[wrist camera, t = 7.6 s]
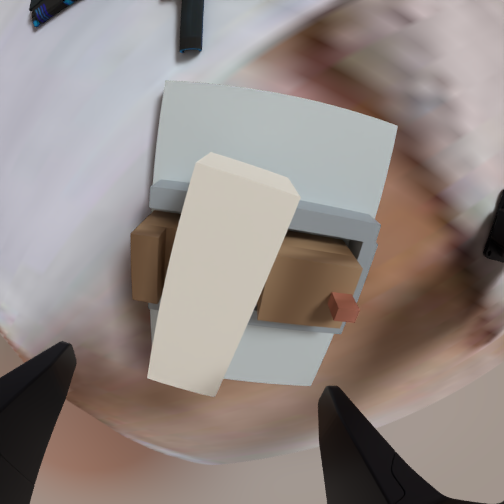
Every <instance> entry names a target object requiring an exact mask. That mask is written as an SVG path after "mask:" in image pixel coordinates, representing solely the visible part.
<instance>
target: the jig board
mask: <svg viewBox="0 0 504 504" xmlns="http://www.w3.org/2000/svg"><path fill="white" fill-rule="evenodd" d="M397 127H398V126H396V125H394V124H391V123H388V122H385V121H382V120H379V119H376V118H373V117H370V116H367V115H364V114H361V113H357V112H354V111H351V110H347V109H344V108H340V107H336V106H333V105H329V104H325V103H321V102H317V101H313V100H309V99H304V98H300V97H295V96H290V95H285V94H280V93H275V92H269V91H263V90H257V89H251V88H244V87H237V86H229V85H220V84H211V83H200V82H186V81H165V87H164V93H163V99H162V106H161V113H160V120H159V128H158V136H157V144H156V154H155V164H154V176H153V185H152V186H150V200H149V208H151V213H152V212H153V211H154V210H157V211H164V212H171V213H179V214H181V213H182V209H183V205H184V202H185V198H186V194H187V191H188V187H189V184H190V180H191V177H192V174H193V170H194V167H195V164H196V162H197V161H199V160H200V159H202V158H203V157H204V156H206V155H207V154H209V153H210V152H213V153H216V154H219V155H222V156H226V157H229V158H232V159H235V160H238V161H241V162H244V163H247V164H250V165H253V166H256V167H259V168H262V169H265V170H268V171H271V172H274V173H276V174H279V175H282V176H285V177H288V178H289V180H290V181H291V183H292V184H293V186H294V187H295V189H296V191H297V192H298V194H299V195H300V197H301V198H300V201H299V203H298V206H297V208H296V211H295V213H294V216H293V218H292V220H291V223H290V225H289V228H288V230H290V231H296V232H302V233H308V234H313V235H319V236H325V237H331V238H336V239H342V240H343V241H344V242H345V244H346V245H347V246H348V248H349V249H350V251H351V252H352V254H353V255H354V257H355V258H356V259H357V261H358V262H359V264H360V265H361V267H362V268H363V270H362V273H361V276H360V279H359V281H358V284H357V287H356V289H355V292H354V295H353V297H354V299H355V301H356V303H357V301H358V298H359V296H360V293H361V290H362V288H363V285H364V282H365V280H366V277H367V274H368V272H369V269H370V266H371V263H372V260H373V258H374V255H375V252H376V249H377V246H378V244H377V243H376V240H377V236H378V233H379V230H380V227H381V225H380V224H379V223H378V222H377V221H376V220H375V216H376V213H377V210H378V206H379V202H380V199H381V195H382V191H383V188H384V184H385V180H386V176H387V172H388V168H389V164H390V159H391V155H392V151H393V146H394V141H395V137H396V132H397ZM161 297H162V296H161ZM160 302H161V298H160V300H159V302H158V304H153V303H148V309H150V318H151V338H152V345H153V339H154V333H155V328H156V323H157V317H158V312H159V307H160ZM345 323H346V322H342V325H341V327H340V329H339V328H327V327H316V326H305V325H296V324H286V323H278V322H269V321H261V320H257V305H256V306H255V308H254V310H253V313H252V315H251V317H250V320H249V322H248V324H247V326H246V329H245V331H244V333H243V336H242V338H241V340H240V342H239V345H238V347H237V349H236V351H235V354H234V356H233V358H232V360H231V362H230V365H229V367H228V369H227V371H226V374H225V376H224V379H231V380H240V381H249V382H259V383H270V384H283V385H299V386H311V384H312V382H313V380H314V378H315V376H316V373H317V371H318V369H319V367H320V365H321V363H322V360H323V358H324V356H325V354H326V351H327V349H328V347H329V344H330V342H331V340H332V337H333V335H334V334H341V333H342V330H343V328H344V326H345Z"/></svg>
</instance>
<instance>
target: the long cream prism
mask: <svg viewBox="0 0 504 504" xmlns="http://www.w3.org/2000/svg"><path fill="white" fill-rule="evenodd" d="M300 198H301V197H300V195H299V194H298V192H297V191H296V189H295V187H294V186H293V184H292V183H291V181H290V180H289V178H288V177H285V176H282V175H279V174H276V173H274V172H271V171H268V170H265V169H262V168H259V167H256V166H253V165H250V164H247V163H244V162H241V161H238V160H235V159H232V158H229V157H226V156H222V155H219V154H216V153H213V152H210V153H209V154H207V155H206V156H204V157H203V158H202V159H200V160H199V161H197V162H196V164H195V167H194V170H193V174H192V177H191V180H190V184H189V187H188V191H187V194H186V198H185V202H184V205H183V209H182V213H181V216H180V220H179V224H178V228H177V232H176V236H175V240H174V244H173V248H172V252H171V256H170V261H169V265H168V269H167V274H166V278H165V283H164V288H163V292H162V297H161V302H160V307H159V312H158V317H157V323H156V328H155V333H154V339H153V345H152V351H151V357H150V363H149V369H148V376H147V378H148V379H151V380H154V381H157V382H161V383H164V384H167V385H170V386H174V387H177V388H181V389H184V390H188V391H192V392H196V393H199V394H203V395H207V396H211V397H215V395H216V393H217V391H218V389H219V387H220V385H221V382H222V380H223V378H224V376H225V374H226V371H227V369H228V367H229V365H230V362H231V360H232V358H233V356H234V354H235V351H236V349H237V347H238V345H239V342H240V340H241V338H242V336H243V333H244V331H245V329H246V326H247V324H248V322H249V320H250V317H251V315H252V313H253V310H254V308H255V306H256V303H257V301H258V299H259V297H260V294H261V292H262V290H263V287H264V285H265V283H266V280H267V278H268V275H269V273H270V271H271V268H272V266H273V264H274V261H275V259H276V257H277V254H278V252H279V249H280V247H281V245H282V242H283V240H284V237H285V235H286V233H287V230H288V228H289V225H290V223H291V220H292V218H293V216H294V213H295V211H296V208H297V206H298V203H299V201H300Z"/></svg>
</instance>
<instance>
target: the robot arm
mask: <svg viewBox="0 0 504 504" xmlns="http://www.w3.org/2000/svg"><path fill="white" fill-rule="evenodd" d="M483 254H484V256H485V257H487V258H489V259H492V260H496V261H500V262H504V191H503V194H502V197H501V201H500V204H499V208H498V211H497V214H496V218H495V221H494V224H493V227H492V230H491V233H490V235H489V238H488V241H487V244H486V246H485V249H484V252H483ZM75 367H76V357H75V354H74V350H73V347H72V345H71V344H70V343H67V342H63V341H61V342H59V343H57V344H55V345H54V346H52V347H50V348H49V349H47V350H45V351H44V352H42V353H40V354H39V355H37V356H35V357H34V358H32V359H30V360H29V361H27V362H25V363H24V364H22V365H20V366H19V367H17V368H16V369H14V370H13V371H11V372H9V373H7V374H6V375H4V376H2V377H1V378H0V504H30V500H31V496H32V493H33V489H34V484H35V481H36V478H37V475H38V472H39V469H40V466H41V462H42V459H43V456H44V453H45V451H46V448H47V445H48V442H49V440H50V437H51V434H52V432H53V429H54V426H55V424H56V421H57V419H58V416H59V413H60V411H61V409H62V406H63V404H64V401H65V399H66V396H67V393H68V389H69V386H70V383H71V379H72V376H73V373H74V370H75ZM318 421H319V445H320V451H321V459H322V467H323V474H324V482H325V490H326V497H327V504H486V503H478V502H470V501H464V500H458V499H452V498H449V497H446V496H444V495H442V494H441V493H440V492H438V491H437V490H436V489H435V488H433V487H432V486H431V485H430V484H429V483H427V482H426V481H425V480H424V479H423V478H422V477H421V476H419V475H418V474H417V473H416V472H415V471H414V470H413V469H412V468H411V467H410V466H409V465H408V464H407V463H406V462H405V461H404V460H403V459H402V458H401V457H400V456H399V455H398V454H397V453H396V452H395V450H394V449H393V448H392V447H391V446H390V445H389V444H388V442H387V441H386V440H385V439H384V438H383V437H382V436H381V435H380V433H379V432H378V431H377V430H376V429H375V428H374V427H373V425H372V424H371V423H370V422H369V421H368V420H367V419H366V417H365V416H364V415H363V414H362V413H361V412H360V411H359V409H358V408H357V407H356V406H355V405H354V404H353V403H352V401H351V400H350V399H349V398H348V397H347V396H346V394H345V393H344V392H343V391H342V390H341V389H340V388H339V387H338V386H327V387H326V388H325V389H324V391H323V393H322V395H321V397H320V399H319V402H318ZM498 504H504V501H503V502H501V503H498Z"/></svg>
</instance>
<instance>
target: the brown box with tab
mask: <svg viewBox="0 0 504 504" xmlns="http://www.w3.org/2000/svg"><path fill="white" fill-rule="evenodd" d="M180 216H181V214H179V213H171V212H164V211H157V210H154V211H153V212H152V213H151V214H150V215H149V216H148V217H147V218H146V219H145V220H144V221H143V222H142V223H141V224H140V225H139V226H138V227H137V228H136V229H135V230H134V231H133V232H132V233H131V279H132V298H133V300H137V301H142V302H148V303H153V304H158V302H159V300H160V298H161V296H162V292H163V288H164V283H165V278H166V274H167V269H168V265H169V261H170V256H171V252H172V248H173V244H174V240H175V236H176V232H177V228H178V224H179V220H180ZM362 270H363V268H362V267H361V265H360V264H359V262H358V261H357V259H356V258H355V257H354V255H353V254H352V252H351V251H350V249H349V248H348V246H347V245H346V244H345V242H344V241H343V240H342V239H336V238H331V237H325V236H319V235H313V234H308V233H302V232H296V231H290V230H287V233H286V235H285V237H284V240H283V242H282V245H281V247H280V249H279V252H278V254H277V257H276V259H275V261H274V264H273V266H272V268H271V271H270V273H269V275H268V278H267V280H266V283H265V285H264V287H263V290H262V292H261V294H260V297H259V299H258V301H257V303H256V305H257V320H261V321H269V322H278V323H286V324H296V325H305V326H316V327H327V328H339V329H340V327H341V325H342V322H352V323H355V321H356V319H357V316H358V314H359V311H360V309H359V307H358V305H357V303H356V301H355V299H354V297H353V295H354V292H355V289H356V287H357V284H358V281H359V279H360V276H361V273H362Z"/></svg>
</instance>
